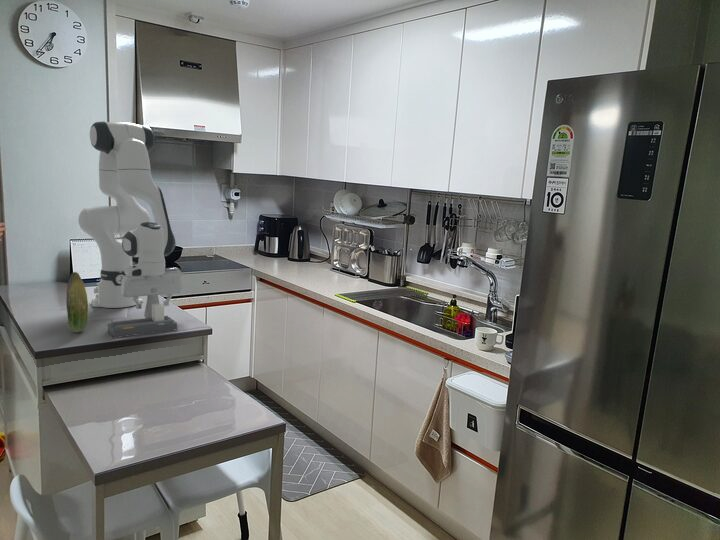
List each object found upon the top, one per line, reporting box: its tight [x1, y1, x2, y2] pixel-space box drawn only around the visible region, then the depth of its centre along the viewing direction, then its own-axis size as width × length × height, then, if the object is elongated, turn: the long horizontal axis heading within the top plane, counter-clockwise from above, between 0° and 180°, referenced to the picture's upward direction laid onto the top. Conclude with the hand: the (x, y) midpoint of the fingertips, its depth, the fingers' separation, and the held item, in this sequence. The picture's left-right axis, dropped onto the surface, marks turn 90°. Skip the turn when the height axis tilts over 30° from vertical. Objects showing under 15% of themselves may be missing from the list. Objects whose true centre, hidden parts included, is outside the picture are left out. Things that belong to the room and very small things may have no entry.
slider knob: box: [152, 303, 165, 321], centre depth 183 cm, size 4×3×5 cm
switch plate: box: [107, 315, 178, 338], centre depth 180 cm, size 9×20×3 cm, turn 126°
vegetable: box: [66, 271, 89, 334], centre depth 173 cm, size 6×6×20 cm
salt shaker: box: [143, 287, 161, 318], centre depth 191 cm, size 6×6×13 cm
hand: (152, 307), depth 191 cm, fingers open, 8 cm apart
